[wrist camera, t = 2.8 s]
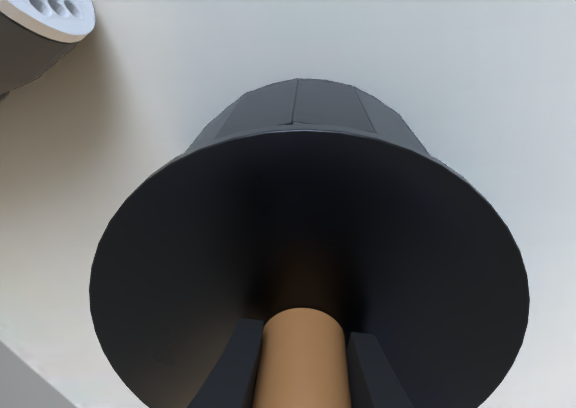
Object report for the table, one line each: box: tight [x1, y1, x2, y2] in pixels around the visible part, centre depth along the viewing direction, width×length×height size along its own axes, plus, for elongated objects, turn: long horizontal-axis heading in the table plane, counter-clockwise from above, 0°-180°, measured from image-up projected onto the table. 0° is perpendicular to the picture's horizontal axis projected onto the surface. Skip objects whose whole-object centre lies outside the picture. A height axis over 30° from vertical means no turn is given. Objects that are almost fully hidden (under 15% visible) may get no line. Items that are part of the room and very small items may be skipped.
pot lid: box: [89, 124, 530, 408], centre depth 11 cm, size 12×12×4 cm
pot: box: [186, 78, 431, 156], centre depth 16 cm, size 11×11×7 cm
